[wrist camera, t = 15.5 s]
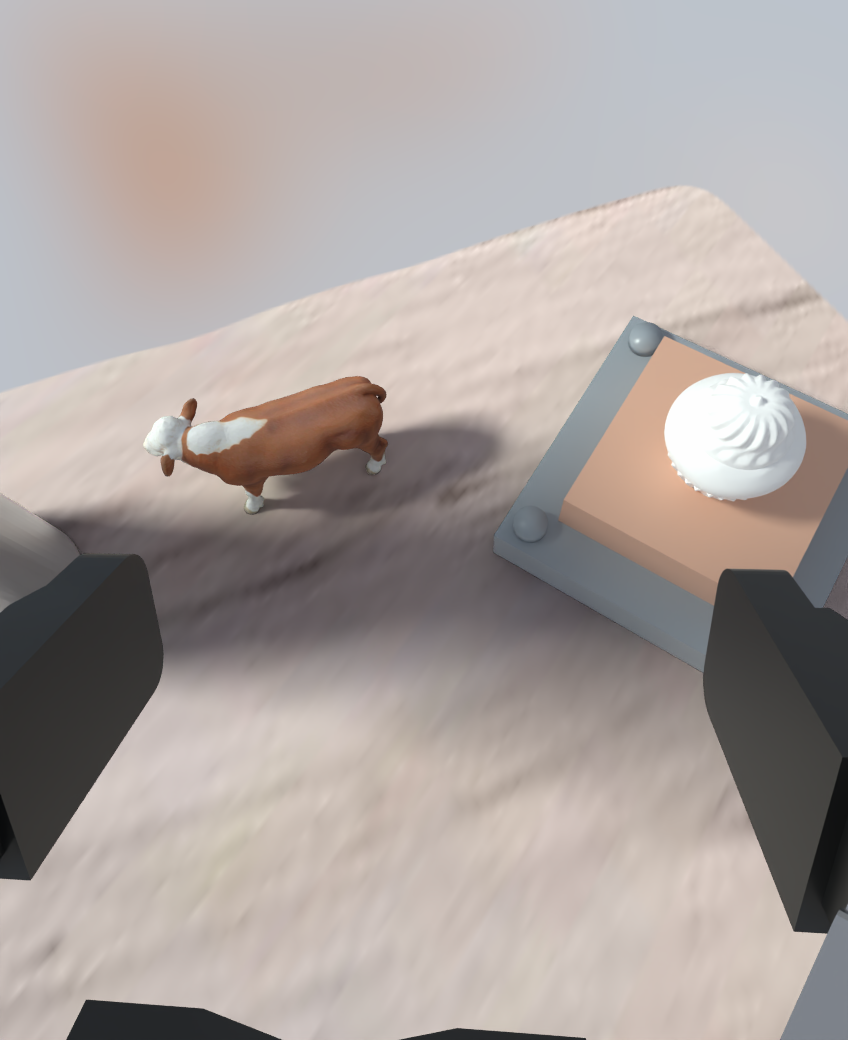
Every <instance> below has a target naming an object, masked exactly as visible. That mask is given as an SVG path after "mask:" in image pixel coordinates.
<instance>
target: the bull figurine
mask: <svg viewBox="0 0 848 1040" xmlns="http://www.w3.org/2000/svg"><path fill="white" fill-rule="evenodd" d="M376 396H378V398H377V397H376ZM385 398H386V391H385V390H384V389H383V388H382V387H380V386H378V385H375V384H371V382H370V381H369V380H368V379H367V378H365V377H361V376H355V377H345V378H342V379H339V380H336V381H334V382H331V383H328V384H324V385H319V386H315V387H312V388H309V389H307V390H304V391H301V392H299V393H296V394H293V395H290V396H287V397H283V398H280V399H276V400H273V401H269V402H267V403H264V404H261V405H259V406H255V407H251V408H246V409H242V410H239V411H236V412H233V413H231V414H229V415H227V416H226V417H225V418H223V419H222V420H220V421H210V422H205V423H202V424H199V425H196V426H193V427H192V426H191V422H192V420H193V418H194V416H195V413H196V408H197V401H196V400H195V399H194V398H193V399H190V400H188V401H187V402H186V403H185V404H184V406H183V409H182V412H181V415H180V416H179V417H178V418H175V417H173V416H168V417H167V416H165V417H162V418H160V419H159V420H158V421H156V422H155V424H154V425H153V428H152V431H151V432H149V434H148V435H147V437H146V439H145V441H144V444H143V446H144V448H145V449H146V450H147V452H148V453H150V454H152V455H154V456H160V455H162V458H161V467H162V470H163V473H164V474H165V476H170V475H171V474H172V472H173V469H174V462H175V460H181V461H182V462H184V463H186V464H189V465H191V466H193V467H196V468H198V469H200V470H203V471H205V472H208V473H211V474H215V475H217V476H218V477H220V478H221V479H222V480H223V481H224V482H225V483H227V484H231V485H237V486H240V485H242V486H243V487H244V488H245V493H246V494H247V496H248V500H247V501H246V503H245V505H244V510H245V512H246V513H248V514H255V513H257V512H258V511H259V508H260V507H263V501H264V498H263V497H262V496H261V493H262V490H263V484H264V482H265V481H266V479H267V478H268V477H269V476H275V475H288V474H296V473H301V472H305V471H308V470H311V469H312V468H314V467H316V466H317V465H319V464H320V463H321V462H322V461H324V460H325V459H326V458H327V457H328V456H329V455H330V454H331V453H332V452H333V451H335V450H338V449H341V450H348V449H353V448H359V449H361V450H363V451H365V452H368V453H369V454H370V455H371V459H370V460H369V461H368V463H367V464H366V470H367V472H368V473H369V474H371V475H373V474H377V473H378V472H379V471H380V470H381V465H384V464H386V459H385V448H386V447H387V445H388V442H387V440H386V439H383V438H381V437H380V436H379V435H378V433H379V430H380V428H381V425H382V421H383V411H382V407H381V405H380V403H382V402H383V401H384V400H385Z"/></svg>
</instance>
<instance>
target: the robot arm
mask: <svg viewBox="0 0 848 1040" xmlns="http://www.w3.org/2000/svg"><path fill="white" fill-rule="evenodd" d="M162 668H163V645H162V640H161V635H160V630H159V625H158V620H157V615H156V610H155V605H154V600H153V595H152V591H151V586H150V581H149V576H148V571H147V568H146V565H145V563H144V561H143V560H142V558H141V557H140V556H138V555H135V554H99V553H84V554H81V555H80V553H79V551H78V550H77V548H76V546H75V544H74V543H73V542H72V541H71V540H70V538H69V537H68V536H67V535H66V534H65V533H63V532H62V531H60V530H59V529H57V528H56V527H54V526H52V525H51V524H49V523H48V522H46V521H44V520H43V519H41V518H40V517H38V516H36V515H35V514H33V513H32V512H30V511H28V510H27V509H25V508H24V507H23V506H21V505H19V504H18V503H16V502H14V501H13V500H11V499H10V498H8V497H6V496H5V495H3V494H1V493H0V878H1V879H17V880H31V879H32V878H33V876H34V874H35V873H36V871H37V870H38V868H39V867H40V865H41V864H42V862H43V861H44V859H45V858H46V856H47V855H48V853H49V852H50V850H51V849H52V847H53V846H54V844H55V842H56V841H57V839H58V838H59V836H60V835H61V833H62V832H63V830H64V829H65V827H66V826H67V824H68V823H69V821H70V820H71V818H72V817H73V815H74V814H75V812H76V810H77V809H78V807H79V806H80V804H81V803H82V801H83V800H84V798H85V797H86V795H87V794H88V792H89V791H90V789H91V788H92V786H93V785H94V783H95V782H96V780H97V778H98V777H99V775H100V774H101V772H102V771H103V769H104V768H105V766H106V765H107V763H108V762H109V760H110V759H111V757H112V756H113V754H114V753H115V751H116V749H117V748H118V746H119V745H120V743H121V742H122V740H123V739H124V737H125V736H126V734H127V733H128V731H129V730H130V728H131V727H132V725H133V724H134V722H135V721H136V719H137V717H138V716H139V714H140V713H141V711H142V710H143V708H144V707H145V705H146V704H147V702H148V701H149V699H150V698H151V696H152V695H153V693H154V692H155V690H156V688H157V686H158V683H159V681H160V677H161V673H162ZM703 685H704V696H705V703H706V707H707V711H708V714H709V717H710V719H711V722H712V724H713V727H714V729H715V732H716V734H717V737H718V740H719V742H720V745H721V747H722V750H723V752H724V755H725V757H726V760H727V763H728V765H729V768H730V770H731V773H732V775H733V778H734V780H735V783H736V785H737V788H738V791H739V793H740V796H741V798H742V801H743V803H744V806H745V808H746V811H747V813H748V816H749V819H750V821H751V824H752V826H753V829H754V831H755V834H756V836H757V839H758V841H759V844H760V847H761V849H762V852H763V854H764V857H765V859H766V862H767V864H768V867H769V869H770V872H771V875H772V877H773V880H774V882H775V885H776V887H777V890H778V892H779V895H780V897H781V900H782V903H783V905H784V908H785V910H786V913H787V915H788V918H789V920H790V923H791V926H792V928H793V931H795V932H811V933H827V936H826V938H825V940H824V943H823V945H822V947H821V949H820V952H819V954H818V956H817V958H816V960H815V963H814V965H813V967H812V969H811V972H810V974H809V976H808V978H807V981H806V983H805V985H804V987H803V990H802V992H801V994H800V996H799V998H798V1001H797V1003H796V1005H795V1007H794V1010H793V1012H792V1014H791V1016H790V1019H789V1021H788V1023H787V1025H786V1028H785V1030H784V1032H783V1034H782V1036H781V1039H780V1040H848V620H847V619H846V618H844V617H843V616H841V615H840V614H838V613H837V612H835V611H834V610H832V609H830V608H815V607H814V606H813V604H812V603H811V602H810V600H809V599H808V598H807V596H806V595H805V593H804V592H803V591H802V589H801V588H800V587H799V585H798V584H797V583H796V581H795V580H794V578H793V577H792V576H791V574H790V573H789V572H788V571H786V570H771V569H725V570H724V571H723V572H722V574H721V576H720V578H719V581H718V586H717V591H716V597H715V603H714V609H713V615H712V621H711V627H710V633H709V639H708V645H707V651H706V657H705V664H704V674H703ZM66 1040H281V1039H279V1038H276V1037H274V1036H271V1035H269V1034H266V1033H263V1032H261V1031H258V1030H256V1029H253V1028H251V1027H248V1026H246V1025H243V1024H241V1023H238V1022H236V1021H233V1020H231V1019H228V1018H226V1017H223V1016H221V1015H218V1014H215V1013H213V1012H210V1011H208V1010H205V1009H201V1008H188V1007H175V1006H162V1005H149V1004H136V1003H123V1002H110V1001H97V1000H86V1001H85V1003H84V1005H83V1007H82V1009H81V1011H80V1013H79V1015H78V1017H77V1019H76V1021H75V1023H74V1025H73V1027H72V1029H71V1031H70V1033H69V1035H68V1037H67V1039H66ZM401 1040H586V1038H578V1037H565V1036H552V1035H539V1034H526V1033H513V1032H500V1031H487V1030H474V1029H461V1028H456V1029H451V1030H446V1031H441V1032H436V1033H431V1034H426V1035H421V1036H416V1037H411V1038H406V1039H401Z"/></svg>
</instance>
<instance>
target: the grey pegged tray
mask: <svg viewBox="0 0 848 1040" xmlns="http://www.w3.org/2000/svg"><path fill="white" fill-rule="evenodd" d="M725 373H742V374H745V373H748V374H749V375H752V376H756V377H757V376H759V375H762V374H760V373H757V372H755V371H753V370H751V369H749V368H746V367H744V366H742V365H740V364H738V363H736V362H733V361H731V360H729V359H727V358H725V357H722V356H720V355H718V354H716V353H714V352H712V351H709V350H707V349H705V348H703V347H701V346H698V345H696V344H694V343H692V342H690V341H688V340H685V339H683V338H681V337H679V336H677V335H675V334H672V333H670V332H668V331H666V330H664V329H661V328H659V327H658V326H657V325H655V324H653V323H650V322H646V321H644V320H642V319H640V318H637V317H635V316H633V317H632V319H631V320H630V322H629V323H628V325H627V327H626V328H625V330H624V331H623V333H622V334H621V336H620V338H619V339H618V341H617V342H616V344H615V345H614V347H613V349H612V350H611V352H610V353H609V355H608V356H607V358H606V360H605V361H604V363H603V364H602V366H601V368H600V369H599V371H598V372H597V374H596V375H595V377H594V379H593V380H592V382H591V383H590V385H589V386H588V388H587V390H586V391H585V393H584V394H583V396H582V397H581V399H580V401H579V402H578V404H577V405H576V407H575V408H574V410H573V412H572V413H571V415H570V416H569V418H568V419H567V421H566V423H565V424H564V426H563V427H562V429H561V431H560V432H559V434H558V435H557V437H556V438H555V440H554V442H553V443H552V445H551V446H550V448H549V449H548V451H547V453H546V454H545V456H544V457H543V459H542V460H541V462H540V464H539V465H538V467H537V468H536V470H535V471H534V473H533V475H532V476H531V478H530V479H529V481H528V483H527V484H526V486H525V487H524V489H523V490H522V492H521V494H520V495H519V497H518V498H517V500H516V501H515V503H514V505H513V506H512V508H511V509H510V511H509V512H508V514H507V516H506V517H505V519H504V520H503V522H502V523H501V525H500V527H499V528H498V530H497V531H496V533H495V534H494V548H493V552H494V553H495V554H497V555H499V556H501V557H502V558H504V559H506V560H508V561H509V562H511V563H513V564H515V565H516V566H518V567H520V568H522V569H523V570H525V571H527V572H529V573H530V574H532V575H534V576H536V577H537V578H539V579H541V580H543V581H544V582H546V583H548V584H549V585H551V586H553V587H555V588H556V589H558V590H560V591H562V592H563V593H565V594H567V595H569V596H570V597H572V598H574V599H576V600H577V601H579V602H581V603H583V604H584V605H586V606H588V607H590V608H591V609H593V610H595V611H597V612H598V613H600V614H602V615H603V616H605V617H607V618H609V619H610V620H612V621H614V622H616V623H617V624H619V625H621V626H623V627H624V628H626V629H628V630H630V631H631V632H633V633H635V634H637V635H638V636H640V637H642V638H644V639H645V640H647V641H649V642H651V643H652V644H654V645H656V646H657V647H659V648H661V649H663V650H664V651H666V652H668V653H670V654H671V655H673V656H675V657H677V658H678V659H680V660H682V661H684V662H685V663H687V664H689V665H691V666H692V667H694V668H696V669H698V670H699V671H701V672H703V673H704V664H705V657H706V651H707V645H708V639H709V633H710V627H711V621H712V615H713V609H714V603H715V597H716V591H717V586H718V581H719V578H720V576H721V574H722V572H723V571H724V570H725V569H771V570H786V571H788V572H789V573H790V574H791V576H792V577H793V578H794V580H795V581H796V583H797V584H798V585H799V587H800V588H801V589H802V591H803V592H804V593H805V595H806V596H807V598H808V599H809V600H810V602H811V603H812V604H813V606H814V607H815V608H823V607H824V604H825V602H826V600H827V598H828V596H829V594H830V592H831V590H832V588H833V586H834V584H835V582H836V580H837V578H838V576H839V573H840V571H841V569H842V567H843V565H844V563H845V561H846V559H847V557H848V414H847V413H845V412H842V411H840V410H838V409H836V408H834V407H831V406H829V405H827V404H825V403H823V402H821V401H818V400H816V399H814V398H812V397H810V396H807V395H805V394H803V393H801V392H799V391H797V390H794V389H792V388H790V387H788V386H786V385H783V384H781V383H779V382H778V384H779V388H783V389H785V390H787V391H788V392H789V396H790V399H791V400H792V401H793V402H794V404H795V405H796V407H797V409H798V411H799V413H800V415H801V417H802V420H803V423H804V427H805V432H806V450H805V454H804V458H803V460H802V463H801V465H800V467H799V468H798V470H797V471H796V473H795V474H794V475H793V477H792V478H791V479H790V480H789V481H788V482H787V483H785V484H784V485H783V486H782V487H780V488H779V489H777V490H775V491H773V492H771V493H768V494H766V495H763V496H759V497H754V498H748V499H747V500H740V499H736V500H735V501H730V500H726V499H723V500H718V499H715V498H713V497H707V496H705V495H703V494H702V493H701V492H700V491H695V490H694V488H693V487H689V486H688V485H687V484H686V483H685V481H684V480H683V479H681V478H680V477H679V476H678V475H677V473H678V472H677V471H676V470H675V469H674V468H673V467H672V465H671V464H672V460H671V459H670V458H669V456H668V450H667V447H666V443H665V436H664V429H665V422H666V418H667V415H668V413H669V410H670V408H671V406H672V404H673V403H674V401H675V400H676V399H677V397H678V396H679V395H680V394H681V393H682V392H683V391H684V390H685V389H687V388H688V387H690V386H691V385H693V384H694V383H696V382H698V381H700V380H702V379H705V378H708V377H711V376H714V375H719V374H725ZM765 379H766V381H770V380H773V379H770V378H768V377H766V376H765Z"/></svg>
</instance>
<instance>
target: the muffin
mask: <svg viewBox="0 0 848 1040" xmlns="http://www.w3.org/2000/svg"><path fill="white" fill-rule="evenodd" d="M664 436H665V443H666V447H667V450H668V456H669V458H670V459H671V460H672V464H671V465H672V467H673V468H674V469H675V470H676V471H677V472H678V473H677V475H678V476H679V477H680V478H681V479H683V480H684V481H685V483H686V484H687V485H688V486H689V487H693V488H694V490H695V491H700V492H701V493H702V494H703V495H705V496H707V497H713V498H715V499H718V500H723V499H726V500H730V501H735V500H736V499H740V500H747V499H748V498H754V497H759V496H763V495H766V494H768V493H771V492H773V491H775V490H777V489H779V488H780V487H782V486H783V485H784V484H785V483H787V482H788V481H789V480H790V479H791V478H792V477H793V475H794V474H795V473H796V471H797V470H798V468H799V467H800V465H801V463H802V460H803V458H804V454H805V450H806V432H805V427H804V423H803V420H802V417H801V415H800V413H799V411H798V409H797V407H796V405H795V404H794V402H793V401H792V400H791V399H790V396H789V392H788V391H787V390H785V389H783V388H779V384H778V382H777V381H776V380H770V381H766V379H765V376H764V375H759V376H757V377H756V376H752V375H749V374H748V373H745V374H742V373H725V374H719V375H714V376H711V377H708V378H705V379H702V380H700V381H698V382H696V383H694V384H693V385H691V386H690V387H688V388H687V389H685V390H684V391H683V392H682V393H681V394H680V395H679V396H678V397H677V399H676V400H675V401H674V403H673V404H672V406H671V408H670V410H669V413H668V415H667V418H666V422H665V429H664Z"/></svg>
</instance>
